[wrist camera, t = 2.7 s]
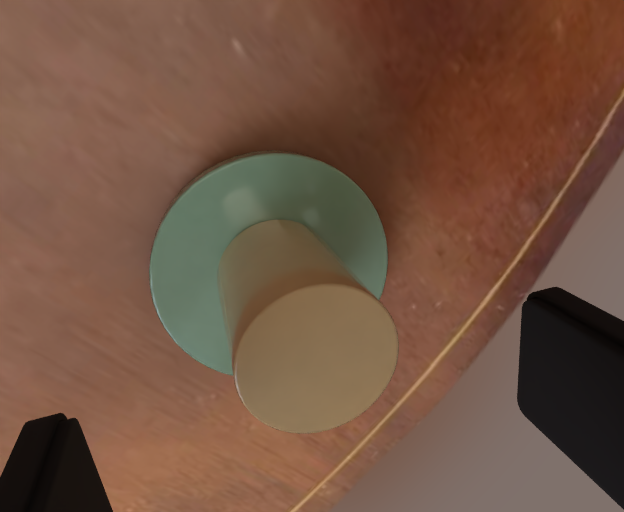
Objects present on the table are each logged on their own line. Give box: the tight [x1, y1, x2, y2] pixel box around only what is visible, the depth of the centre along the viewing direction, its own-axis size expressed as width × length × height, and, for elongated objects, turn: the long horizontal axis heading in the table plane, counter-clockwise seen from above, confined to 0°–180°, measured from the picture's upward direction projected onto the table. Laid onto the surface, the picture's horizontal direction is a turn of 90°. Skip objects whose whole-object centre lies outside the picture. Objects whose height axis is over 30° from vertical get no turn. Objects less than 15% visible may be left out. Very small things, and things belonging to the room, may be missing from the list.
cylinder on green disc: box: [149, 150, 399, 433], centre depth 14 cm, size 8×8×7 cm
